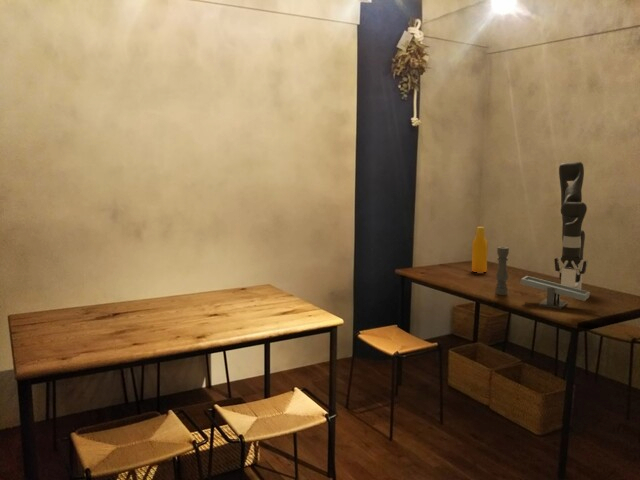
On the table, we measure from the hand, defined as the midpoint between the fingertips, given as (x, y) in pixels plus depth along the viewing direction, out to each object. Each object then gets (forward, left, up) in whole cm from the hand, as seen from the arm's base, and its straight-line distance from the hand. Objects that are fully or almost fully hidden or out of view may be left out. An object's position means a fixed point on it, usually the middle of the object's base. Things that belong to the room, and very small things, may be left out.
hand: (569, 281), depth 244 cm
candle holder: (-17, -37, -15) cm, 43 cm away
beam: (-10, -9, -8) cm, 15 cm away
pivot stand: (-10, -9, -15) cm, 20 cm away
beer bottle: (-65, -68, -15) cm, 95 cm away
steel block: (0, 0, -2) cm, 2 cm away
